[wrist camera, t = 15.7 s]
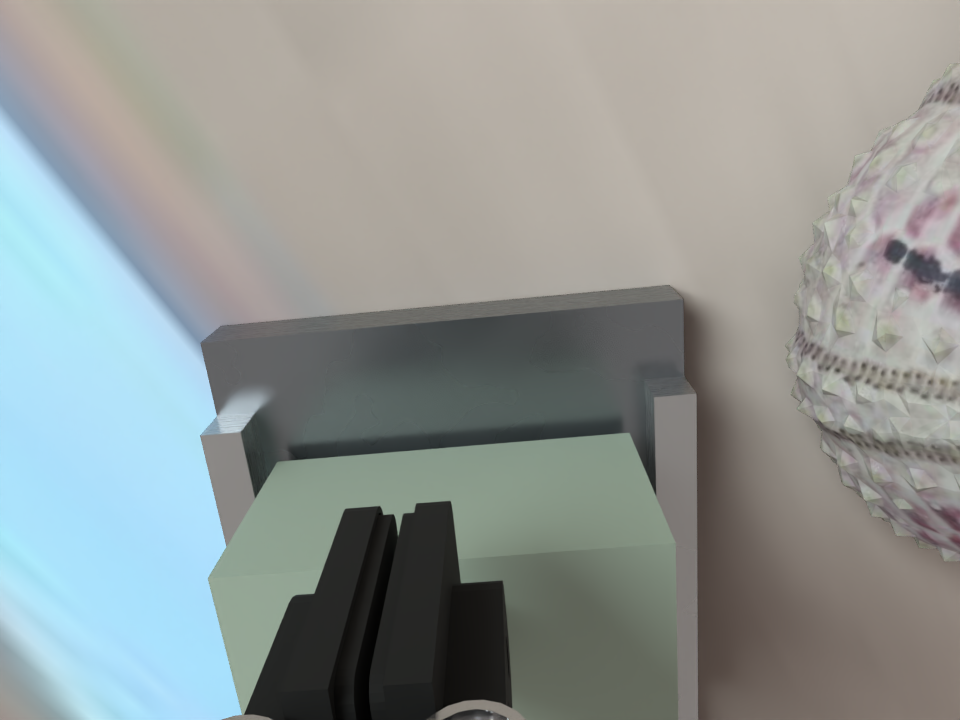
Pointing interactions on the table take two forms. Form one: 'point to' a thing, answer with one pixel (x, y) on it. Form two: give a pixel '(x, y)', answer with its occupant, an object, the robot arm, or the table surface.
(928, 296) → the sea urchin shell
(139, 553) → the table surface
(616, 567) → the grey-green handled block
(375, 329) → the base
